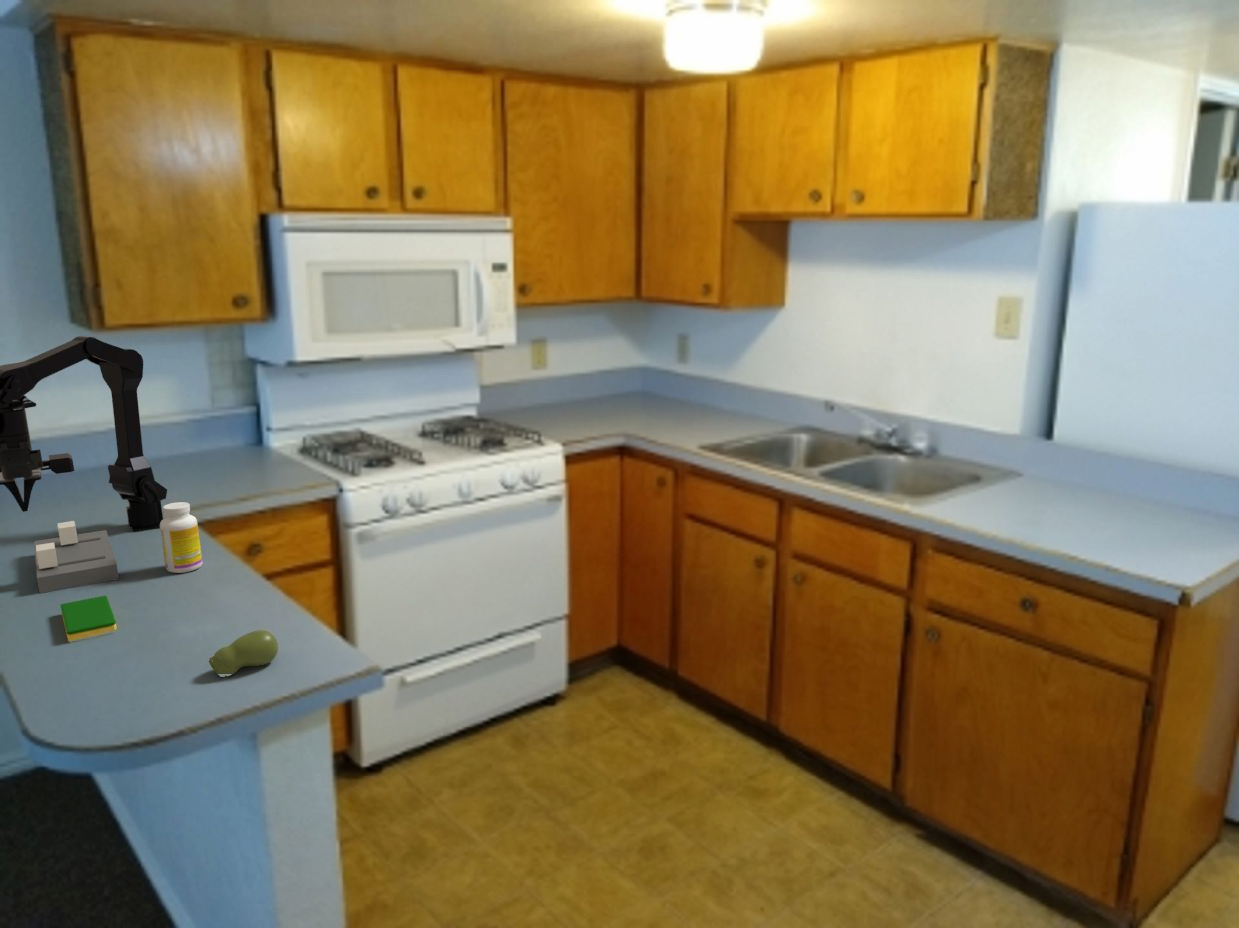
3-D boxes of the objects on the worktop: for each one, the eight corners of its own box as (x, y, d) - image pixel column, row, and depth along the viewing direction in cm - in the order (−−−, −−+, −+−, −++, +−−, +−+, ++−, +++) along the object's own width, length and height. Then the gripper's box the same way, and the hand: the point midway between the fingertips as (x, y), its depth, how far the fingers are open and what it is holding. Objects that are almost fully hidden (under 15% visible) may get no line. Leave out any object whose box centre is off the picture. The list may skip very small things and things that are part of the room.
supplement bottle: (210, 565, 188) (202, 502, 185) (182, 576, 182) (174, 512, 179) (186, 560, 191) (178, 498, 187) (158, 571, 185) (149, 508, 181)
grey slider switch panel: (108, 543, 201) (106, 529, 200) (118, 578, 181) (116, 563, 180) (36, 555, 194) (34, 540, 193) (39, 593, 174) (36, 577, 173)
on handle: (56, 559, 181) (54, 542, 180) (57, 565, 178) (54, 548, 177) (38, 562, 180) (35, 545, 179) (39, 569, 176) (36, 551, 176)
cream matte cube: (77, 537, 194) (74, 520, 193) (78, 542, 191) (75, 526, 190) (60, 539, 193) (57, 523, 192) (60, 545, 189) (58, 528, 188)
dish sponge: (68, 645, 154) (66, 631, 153) (62, 616, 165) (60, 603, 164) (117, 635, 158) (115, 621, 157) (108, 607, 169) (106, 594, 168)
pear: (277, 632, 144) (209, 660, 139) (286, 662, 146) (220, 690, 141) (266, 620, 148) (200, 646, 143) (275, 649, 150) (211, 676, 145)
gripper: (-50, 448, 171) (-34, 530, 175) (69, 435, 181) (81, 513, 185) (-47, 436, 180) (-32, 514, 184) (66, 424, 190) (78, 499, 194)
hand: (25, 511), depth 186 cm, fingers closed
